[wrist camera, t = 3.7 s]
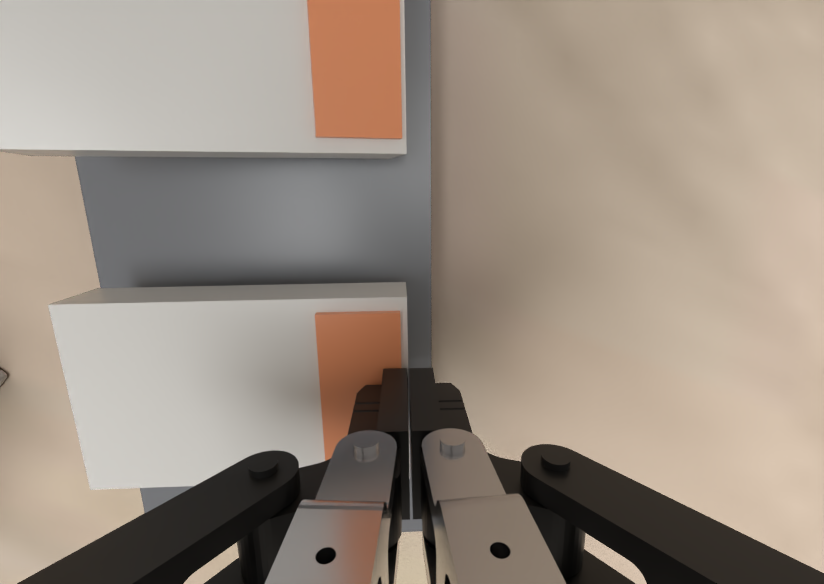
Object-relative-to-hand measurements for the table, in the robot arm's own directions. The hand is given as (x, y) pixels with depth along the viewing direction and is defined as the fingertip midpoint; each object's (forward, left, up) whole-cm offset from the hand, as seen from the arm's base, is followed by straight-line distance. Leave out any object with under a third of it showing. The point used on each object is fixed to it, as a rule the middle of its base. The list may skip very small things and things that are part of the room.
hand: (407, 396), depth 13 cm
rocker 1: (-10, -5, -1) cm, 11 cm away
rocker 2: (0, -5, -1) cm, 5 cm away
